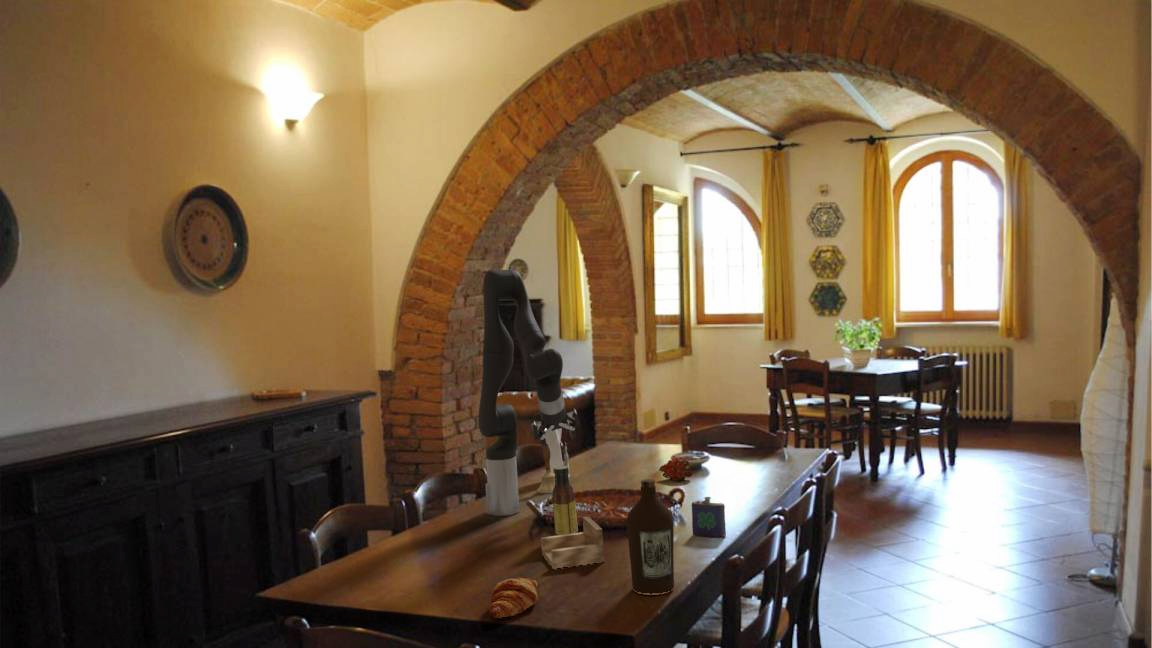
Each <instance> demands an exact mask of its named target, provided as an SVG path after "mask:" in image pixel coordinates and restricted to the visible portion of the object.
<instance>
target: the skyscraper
mask: <svg viewBox="0 0 1152 648" xmlns="http://www.w3.org/2000/svg"><path fill="white" fill-rule="evenodd" d="M562 429H563V427H562V428H560V429H556V430H554V431H552V430H551V431H550V433H549V434H548V435H546V437H545V439H546V443H547V444H548V446H549V449H550V454H551V456H550V470H551V473H553V474H554V468H555V467H557V466H567V467H568V470H569V471H568V478H569V479H571V474H570V466H569V465H570V464H569V454H568V447H567V442H564V454H563V457H562V449H561V440H562V431H563V430H562ZM563 458H564V463H563ZM544 470H545V469H544ZM544 472H545V473H546V470H545V471H544ZM545 473H544V474H545Z"/></svg>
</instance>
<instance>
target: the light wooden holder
mask: <svg viewBox="0 0 1152 648" xmlns="http://www.w3.org/2000/svg"><path fill="white" fill-rule="evenodd" d="M582 524H583V525H582V526H583V527H582V528H583V529H582V530H583V531H582V532H581V531H580V532H578V533H573V534H565V535H557V536H556V535H552V536H543V537H541V538H540V541H541V544H540V545H541V555H542V557H543V556H544V557H543V558H544V559H545V560H546V562H547V561H548V562H547V564H548V565H549V566H550V565H551V566H552V567H551V566H550V567H551V568H552V570H553V569H554V570H558V569H557V568H561V569H564V568H563V567H568V568H573V566H576V567H580V566H579V565H583V566H588V565H587V564H590V565H594V564H593V563H597V564H603V563H602V562H604V563H605V558H604V554H605V553H604V537H603V536H604V535H603V528H601V527H600V525H599V524H597V523H596V522H595V521H594V520H593V519H592V518H591V517H589V516H583V517H582Z"/></svg>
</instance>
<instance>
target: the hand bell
mask: <svg viewBox="0 0 1152 648" xmlns="http://www.w3.org/2000/svg"><path fill="white" fill-rule="evenodd" d="M546 444H547V443H546ZM542 448H543V449H542V458H543V461H544V465H545V466H544V468H545V469H544V470H546V473H543V474H542V475H541V483H540V485H539V487H538V488H537V489H536V492H537V493H538V494H549V495H550V494H553V489H554V486H555V474H553V473H551V470H550V456H551V454H550V449H549V446H548V444H547V446H546V447H545V446H543V447H542Z"/></svg>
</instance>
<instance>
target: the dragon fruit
mask: <svg viewBox="0 0 1152 648" xmlns="http://www.w3.org/2000/svg"><path fill="white" fill-rule="evenodd" d="M658 471H659V472H662V477H664V478H665V479H668V480H671V481H673V482H676V481H677V482H678V480H679V481H681V482H684V481H686V478H691V477H692V476H693V473H692V472H693V471H694V467H693V466H692V464H691V463H690V461H689V460H686V459H685V458H683V457H682V456H679V458H677V457H671V458H670V459H669V460H668V461H667V463H664V464H662V465H661V466H660V467H659V469H658Z"/></svg>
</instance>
